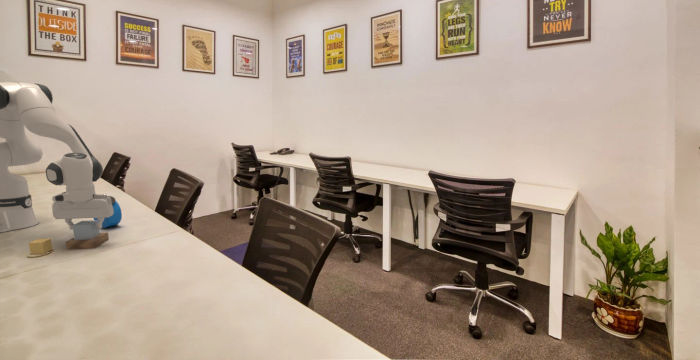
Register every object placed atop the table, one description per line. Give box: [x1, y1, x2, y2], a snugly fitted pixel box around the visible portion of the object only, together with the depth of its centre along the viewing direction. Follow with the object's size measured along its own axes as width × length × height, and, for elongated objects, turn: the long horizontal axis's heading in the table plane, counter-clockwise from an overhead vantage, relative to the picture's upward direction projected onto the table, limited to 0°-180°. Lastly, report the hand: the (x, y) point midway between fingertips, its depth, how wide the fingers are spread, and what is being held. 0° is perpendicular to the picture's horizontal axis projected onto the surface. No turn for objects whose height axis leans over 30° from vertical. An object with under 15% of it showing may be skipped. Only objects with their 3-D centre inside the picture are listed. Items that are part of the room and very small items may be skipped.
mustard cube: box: [28, 238, 53, 255], centre depth 131 cm, size 4×4×4 cm
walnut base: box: [65, 232, 109, 251], centre depth 139 cm, size 10×10×3 cm
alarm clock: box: [93, 195, 123, 229], centre depth 159 cm, size 13×6×15 cm, turn 65°
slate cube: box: [72, 219, 101, 240], centre depth 138 cm, size 6×6×6 cm
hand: (86, 228), depth 138 cm, fingers open, 8 cm apart
